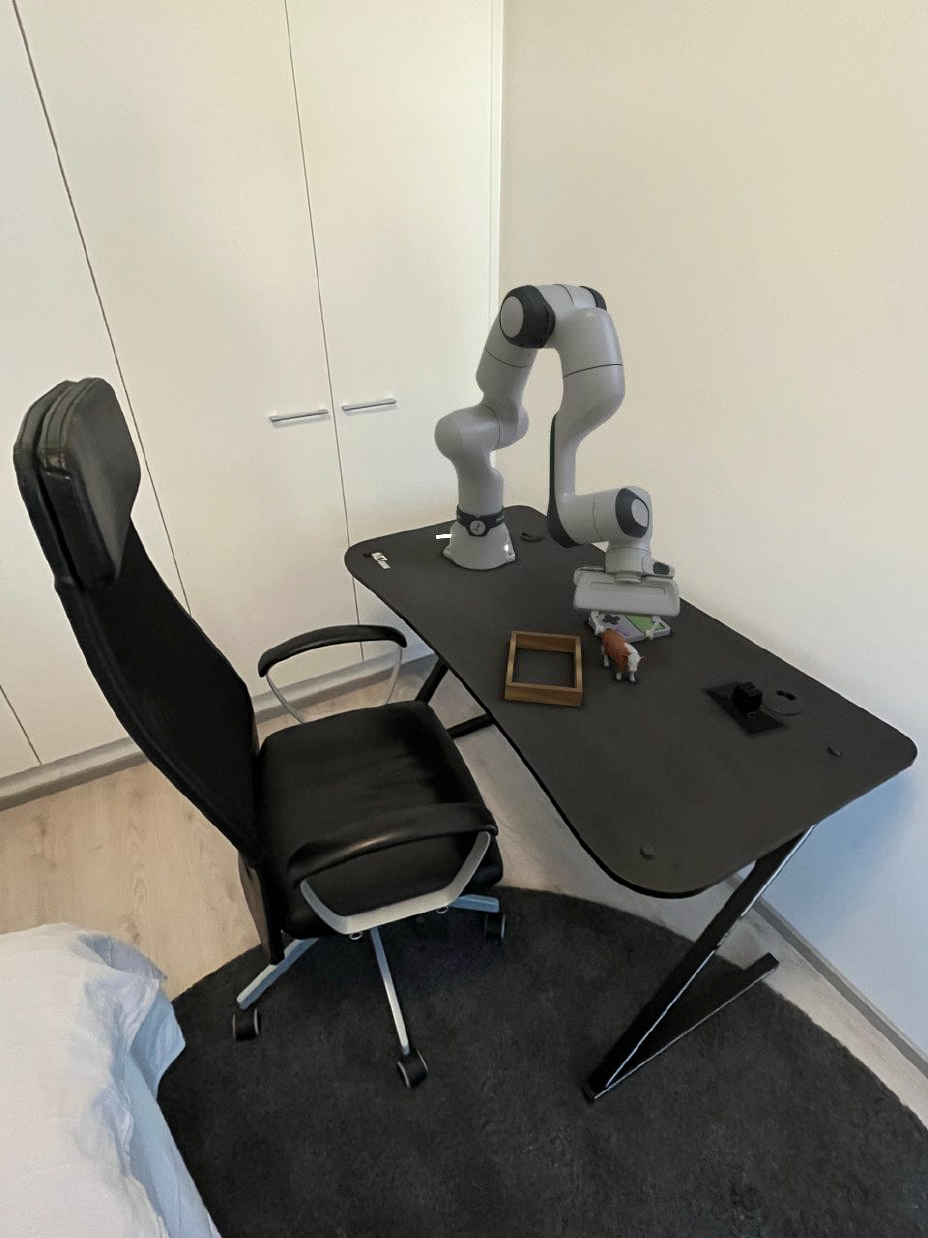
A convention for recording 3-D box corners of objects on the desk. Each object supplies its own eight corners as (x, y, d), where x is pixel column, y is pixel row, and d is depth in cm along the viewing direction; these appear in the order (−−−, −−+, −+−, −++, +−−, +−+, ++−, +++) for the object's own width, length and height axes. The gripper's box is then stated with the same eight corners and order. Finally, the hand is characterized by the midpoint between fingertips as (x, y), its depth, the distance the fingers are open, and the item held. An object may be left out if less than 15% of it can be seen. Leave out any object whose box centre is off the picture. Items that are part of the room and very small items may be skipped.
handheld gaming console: (587, 615, 141) (646, 604, 146) (586, 621, 142) (645, 610, 147) (610, 640, 134) (672, 628, 138) (609, 646, 134) (670, 634, 139)
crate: (511, 644, 135) (512, 630, 133) (578, 650, 133) (580, 636, 131) (504, 699, 120) (505, 685, 118) (580, 706, 118) (582, 692, 116)
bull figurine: (623, 696, 121) (630, 661, 117) (594, 655, 132) (600, 621, 127) (645, 692, 122) (652, 658, 117) (614, 652, 133) (620, 619, 128)
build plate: (782, 726, 115) (790, 706, 112) (749, 735, 113) (756, 715, 110) (737, 684, 124) (743, 665, 122) (705, 691, 122) (711, 672, 120)
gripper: (575, 560, 125) (570, 629, 122) (683, 568, 123) (680, 639, 120) (573, 569, 131) (568, 635, 128) (675, 577, 129) (672, 645, 126)
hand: (623, 637), depth 124 cm, fingers open, 8 cm apart
